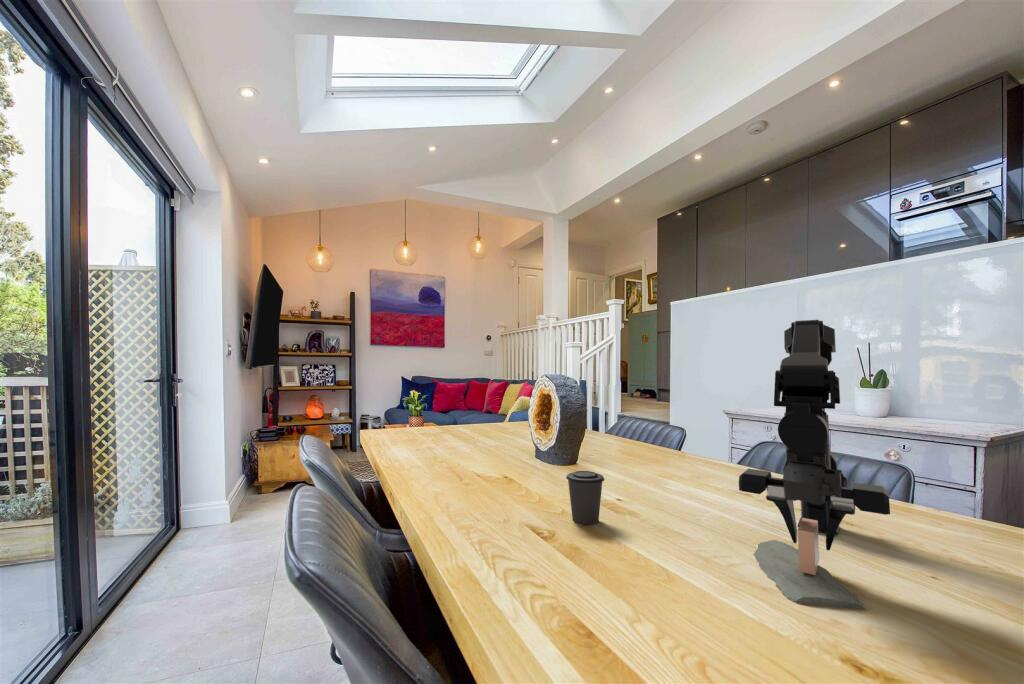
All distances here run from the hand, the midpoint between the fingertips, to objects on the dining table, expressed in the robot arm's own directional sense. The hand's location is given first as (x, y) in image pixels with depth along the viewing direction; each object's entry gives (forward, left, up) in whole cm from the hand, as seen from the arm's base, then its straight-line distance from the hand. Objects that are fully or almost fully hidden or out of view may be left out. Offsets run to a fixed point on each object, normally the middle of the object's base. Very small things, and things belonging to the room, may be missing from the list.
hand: (811, 546), depth 66 cm
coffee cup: (+1, -39, -5) cm, 39 cm away
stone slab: (-1, -3, -6) cm, 6 cm away
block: (0, 0, -3) cm, 3 cm away
